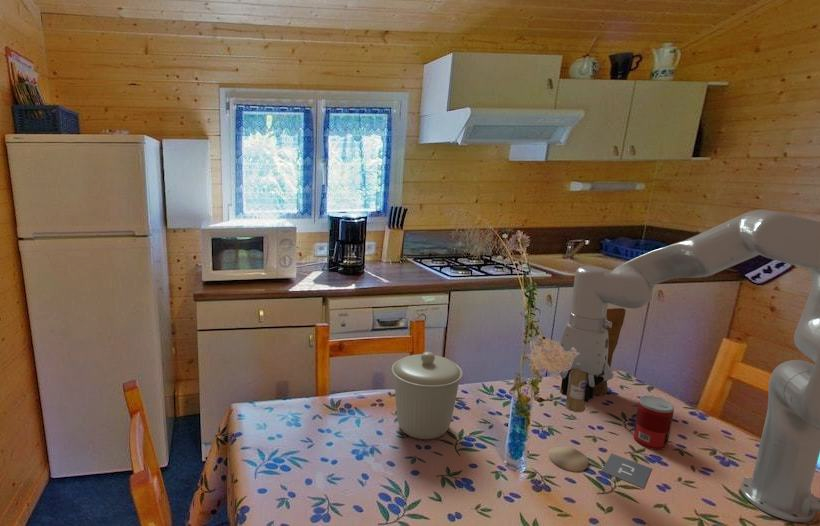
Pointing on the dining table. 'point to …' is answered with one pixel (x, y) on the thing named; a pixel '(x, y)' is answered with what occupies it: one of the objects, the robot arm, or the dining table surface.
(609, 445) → the dining table surface
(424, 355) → the canister
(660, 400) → the canned food
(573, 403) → the sprinkles bottle
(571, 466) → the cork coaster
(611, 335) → the pancake mix bag
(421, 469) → the dining table surface
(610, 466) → the tile
